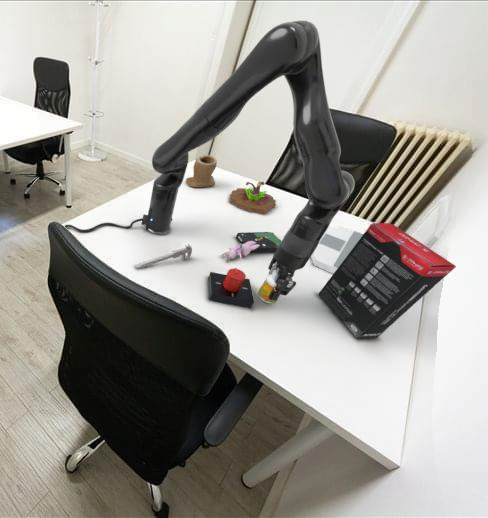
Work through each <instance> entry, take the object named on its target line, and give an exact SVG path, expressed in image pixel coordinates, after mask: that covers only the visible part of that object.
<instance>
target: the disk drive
mask: <svg viewBox="0 0 488 518" xmlns="http://www.w3.org/2000/svg"><path fill="white" fill-rule="evenodd" d="M235 239H236V240H237V242H238V243H239V244H245V243H246V242H248V241H254V242H256V244H257V245H260V246H259V247H257V248H256V249H254V250H252V251H250V253H249V254H274V253H275V252H276V251H277V249H278V247H279V245H280V243H281V242H282V240H281V239H280V238H278V236H277V235H276V234H275V233H274V232H271V231H257V232H255V231H254V232H248V231H247V232H237V233H236V236H235ZM256 244H253V245H256ZM251 246H252V245H251Z"/></svg>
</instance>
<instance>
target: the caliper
mask: <svg viewBox="0 0 488 518" xmlns="http://www.w3.org/2000/svg"><path fill="white" fill-rule="evenodd" d="M192 252H193V248H192V246H191V244H190V243H188V244H187V245H186V244H185V247H182V248H179V249H176V250H173V251H172V252H169V253H166V254H164V255H161V256H157V257H155V258H152V259H151V258H150V259H149V260H146V261H143V262H139V264H137V265H135V267H136V268H137V269H143V268H146V267H148V266H149V267H150V266H152V265H154V264H158V263H162V262H163V261H167V260H169V259H173V260H174V259H177V258H180V257H181V258H182V259H183V260H185V261H186V258H187V259H190V258H191V256H192Z"/></svg>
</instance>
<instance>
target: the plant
mask: <svg viewBox="0 0 488 518" xmlns="http://www.w3.org/2000/svg"><path fill="white" fill-rule="evenodd" d="M249 185H251V186H252V187H250V186H249ZM245 186H249V187H248V188H246V187H242V188H241V187H238V188H236V189H235V190H232V191H231V193H230V197H229V203H230V204H232V205H234V206H235V207H236V208H237V209H241V210H243V211H245V212H246V211H247V212H250V213H257V214H259V215H266V214H267V213H268V212H270V211H271V210H272V209H274V208H275V207H276V205H277V204H276V202H277V200H276V199H274V196H272V195H270V194H268V191H267V190H262V191H261V187H262V186H265V182H264V181H258V182H257V184H256V186H255V185H254V183H253V182H249V181H247V182H245Z"/></svg>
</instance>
